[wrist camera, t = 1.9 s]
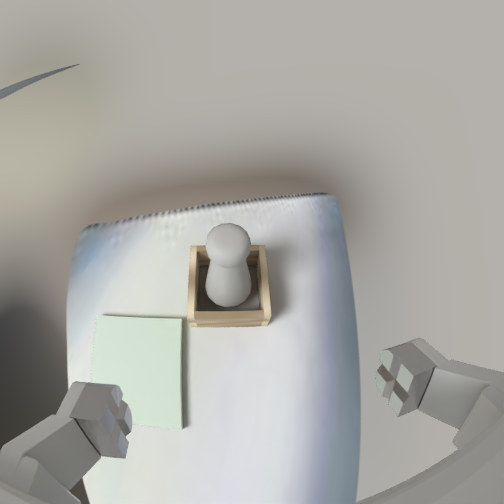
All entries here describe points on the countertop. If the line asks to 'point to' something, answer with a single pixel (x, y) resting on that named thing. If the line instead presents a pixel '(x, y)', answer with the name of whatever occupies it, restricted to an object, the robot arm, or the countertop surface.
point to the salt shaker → (228, 265)
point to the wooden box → (228, 317)
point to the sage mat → (142, 366)
